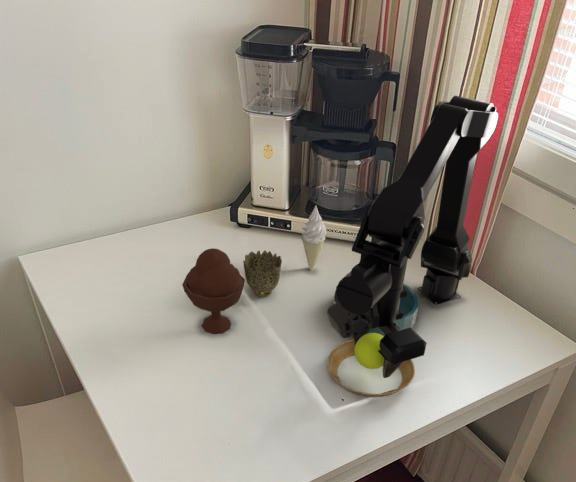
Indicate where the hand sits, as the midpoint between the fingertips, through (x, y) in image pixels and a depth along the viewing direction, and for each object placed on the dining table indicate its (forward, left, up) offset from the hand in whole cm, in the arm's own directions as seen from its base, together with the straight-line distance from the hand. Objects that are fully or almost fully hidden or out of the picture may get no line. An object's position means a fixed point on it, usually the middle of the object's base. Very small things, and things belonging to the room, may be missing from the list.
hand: (371, 360), depth 103 cm
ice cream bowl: (+19, -24, -4) cm, 31 cm away
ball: (0, 0, -1) cm, 1 cm away
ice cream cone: (-6, -34, -4) cm, 35 cm away
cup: (+7, -30, -4) cm, 31 cm away
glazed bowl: (-10, -15, -4) cm, 18 cm away
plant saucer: (0, 0, -4) cm, 4 cm away
